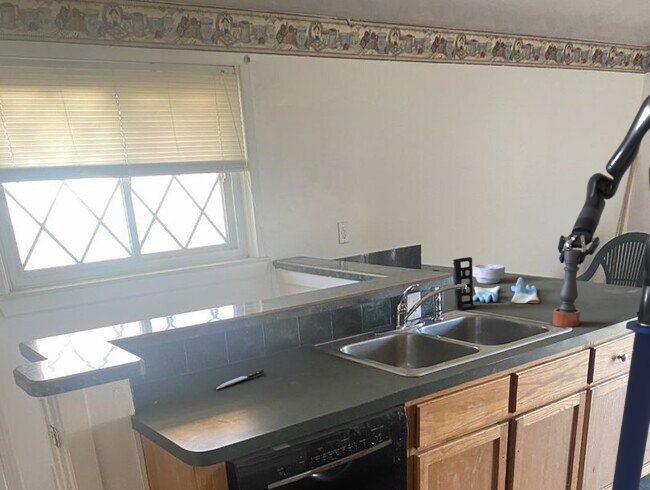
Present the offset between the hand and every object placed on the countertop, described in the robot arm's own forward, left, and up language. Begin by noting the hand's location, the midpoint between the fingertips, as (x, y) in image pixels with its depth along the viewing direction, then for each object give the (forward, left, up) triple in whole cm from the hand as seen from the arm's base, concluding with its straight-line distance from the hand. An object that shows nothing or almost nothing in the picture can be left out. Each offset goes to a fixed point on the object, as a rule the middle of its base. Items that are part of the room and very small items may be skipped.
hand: (570, 262), depth 229 cm
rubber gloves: (+54, -12, -23) cm, 60 cm away
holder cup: (+1, -1, -22) cm, 22 cm away
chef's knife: (-6, +124, -22) cm, 126 cm away
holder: (+44, +16, -23) cm, 52 cm away
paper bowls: (+85, -24, -23) cm, 91 cm away
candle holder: (+1, -2, -21) cm, 22 cm away
